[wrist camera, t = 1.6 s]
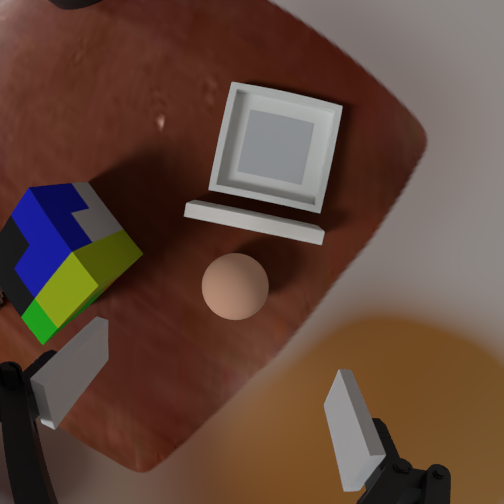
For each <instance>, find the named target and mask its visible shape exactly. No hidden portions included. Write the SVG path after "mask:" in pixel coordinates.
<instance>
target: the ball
mask: <svg viewBox="0 0 504 504" xmlns="http://www.w3.org/2000/svg"><path fill="white" fill-rule="evenodd" d="M268 290H269V283H268V278H267V275H266V272H265V270H264V269H263V267H262V266H261V265H260V264H259V263H258V262H257V261H256V260H255V259H253V258H252V257H250V256H247V255H244V254H239V253H231V254H226V255H223V256H221V257H219V258H217V259H216V260H214V261H213V262H212V263H211V264H210V265H209V267H208V268H207V270H206V272H205V274H204V277H203V280H202V292H203V296H204V299H205V301H206V303H207V305H208V306H209V308H210V309H211V310H212V311H213V312H214V313H216V314H217V315H219V316H221V317H223V318H226V319H231V320H240V319H245V318H248V317H250V316H252V315H254V314H255V313H256V312H257V311H259V310H260V309H261V307H262V306H263V304H264V303H265V301H266V299H267V296H268Z"/></svg>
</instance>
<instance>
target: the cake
mask: <svg viewBox="0 0 504 504" xmlns="http://www.w3.org/2000/svg"><path fill="white" fill-rule="evenodd" d="M2 292H3V290H2V289H1V287H0V304H2V303H3V300H2V298H3V297H4V296H3V294H2ZM0 309H1V307H0Z"/></svg>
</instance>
